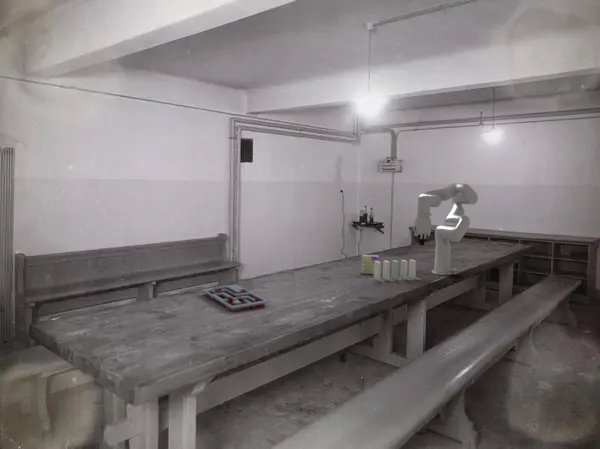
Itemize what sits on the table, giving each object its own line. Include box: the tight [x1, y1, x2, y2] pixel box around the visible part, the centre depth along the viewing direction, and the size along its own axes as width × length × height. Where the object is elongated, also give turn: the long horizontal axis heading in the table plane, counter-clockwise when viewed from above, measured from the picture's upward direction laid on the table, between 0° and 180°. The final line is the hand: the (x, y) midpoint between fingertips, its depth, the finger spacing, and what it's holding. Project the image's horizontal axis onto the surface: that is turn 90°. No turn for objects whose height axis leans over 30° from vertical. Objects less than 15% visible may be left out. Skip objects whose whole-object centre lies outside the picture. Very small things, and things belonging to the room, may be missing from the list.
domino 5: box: [408, 259, 417, 279], centre depth 285 cm, size 2×5×11 cm, turn 17°
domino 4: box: [399, 259, 409, 279], centre depth 283 cm, size 2×5×11 cm, turn 17°
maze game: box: [202, 284, 270, 313], centre depth 230 cm, size 35×20×3 cm, turn 34°
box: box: [360, 254, 380, 275], centre depth 296 cm, size 10×6×12 cm, turn 84°
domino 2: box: [382, 260, 391, 280], centre depth 279 cm, size 2×5×11 cm, turn 17°
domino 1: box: [373, 261, 382, 281], centre depth 277 cm, size 2×5×11 cm, turn 17°
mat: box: [367, 275, 422, 283], centre depth 282 cm, size 32×10×1 cm, turn 107°
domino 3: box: [390, 259, 400, 280], centre depth 281 cm, size 2×5×11 cm, turn 16°
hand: (421, 245), depth 284 cm, fingers closed
